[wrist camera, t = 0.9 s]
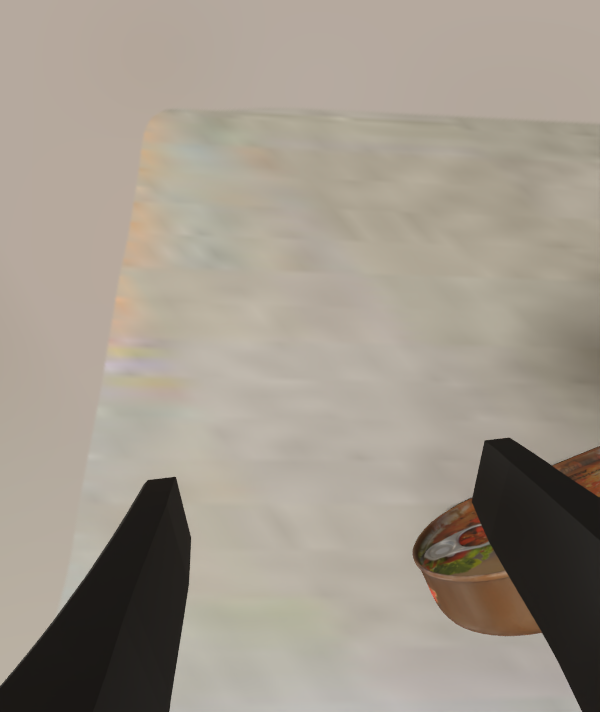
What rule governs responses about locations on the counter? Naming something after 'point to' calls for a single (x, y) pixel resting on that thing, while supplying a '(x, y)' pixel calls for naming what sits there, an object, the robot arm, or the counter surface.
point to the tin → (483, 563)
